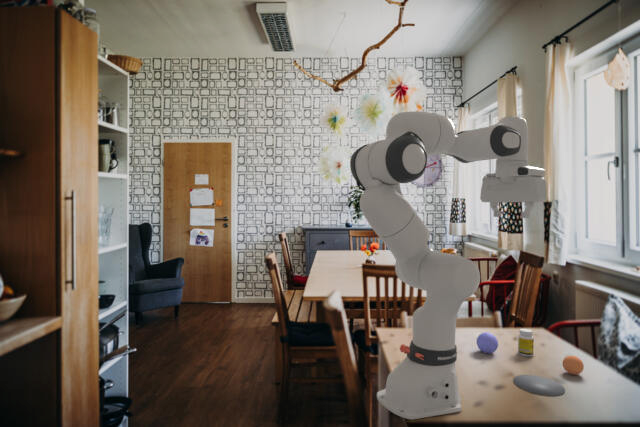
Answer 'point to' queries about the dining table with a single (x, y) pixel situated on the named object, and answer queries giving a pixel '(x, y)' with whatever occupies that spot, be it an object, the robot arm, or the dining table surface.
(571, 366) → the ball
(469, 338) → the dining table surface
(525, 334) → the supplement bottle
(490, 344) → the sphere
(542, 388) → the slate disc
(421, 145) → the robot arm
